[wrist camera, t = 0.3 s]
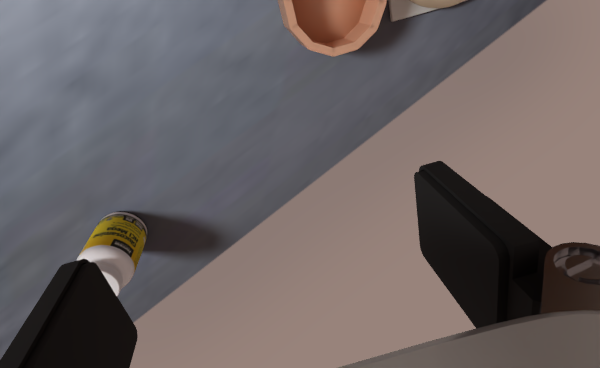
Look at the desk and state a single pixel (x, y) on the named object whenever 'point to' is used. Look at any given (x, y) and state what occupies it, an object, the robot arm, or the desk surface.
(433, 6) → the lid
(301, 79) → the desk surface
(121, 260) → the pill bottle
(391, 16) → the mat
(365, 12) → the bowl
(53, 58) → the desk surface
